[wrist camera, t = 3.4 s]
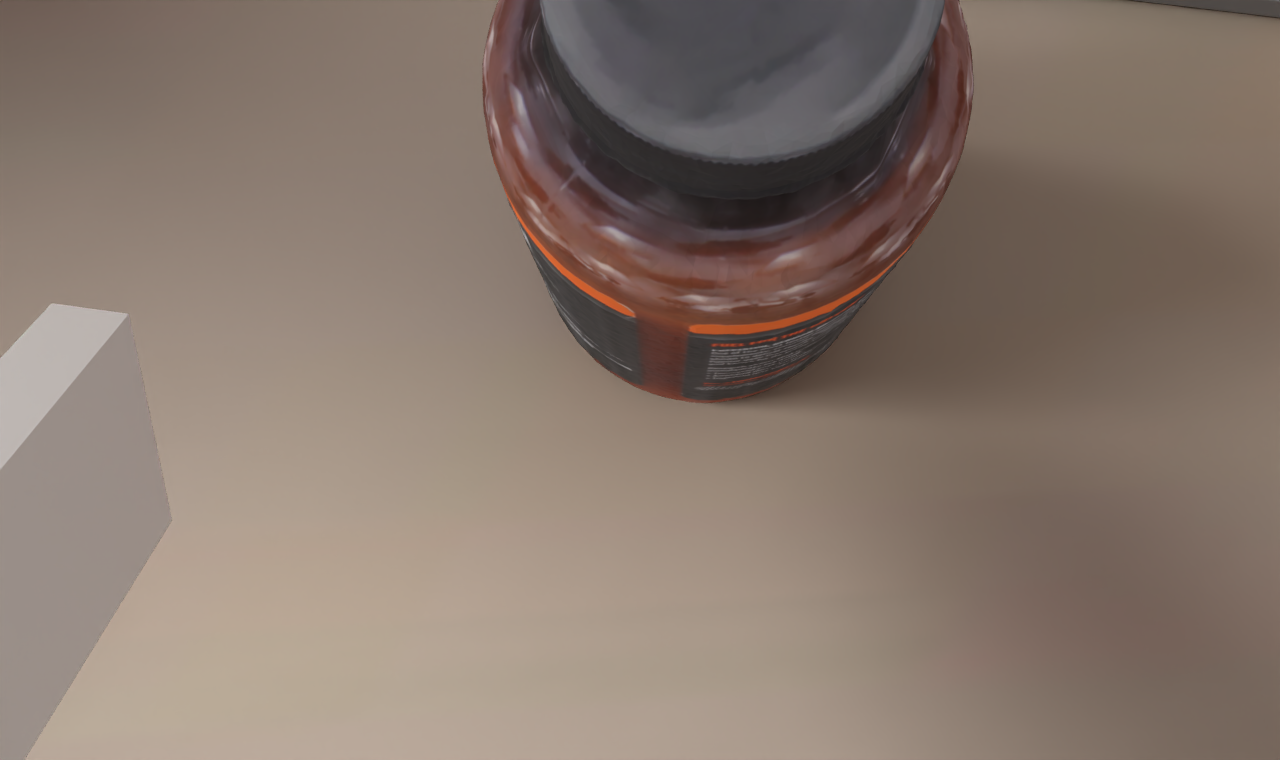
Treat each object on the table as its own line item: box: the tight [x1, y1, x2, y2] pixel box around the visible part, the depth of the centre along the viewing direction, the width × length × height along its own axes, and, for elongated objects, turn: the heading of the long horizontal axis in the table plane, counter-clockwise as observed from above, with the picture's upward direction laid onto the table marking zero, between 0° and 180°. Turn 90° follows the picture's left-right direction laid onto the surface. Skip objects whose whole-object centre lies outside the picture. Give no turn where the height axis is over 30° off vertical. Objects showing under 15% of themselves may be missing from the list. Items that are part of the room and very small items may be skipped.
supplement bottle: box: [483, 0, 974, 403], centre depth 17 cm, size 6×6×11 cm
